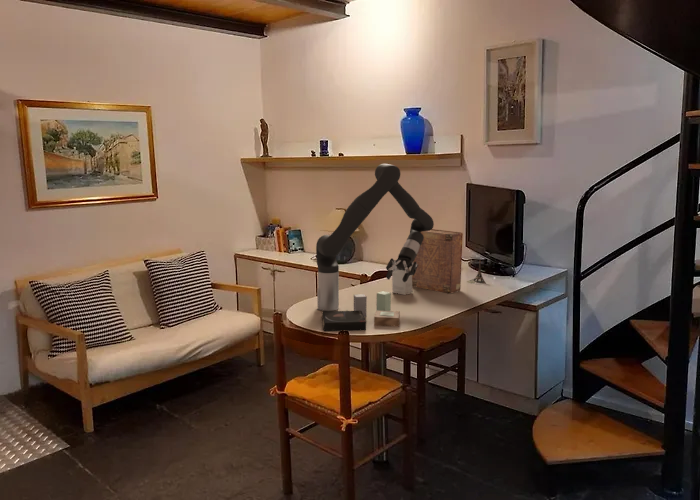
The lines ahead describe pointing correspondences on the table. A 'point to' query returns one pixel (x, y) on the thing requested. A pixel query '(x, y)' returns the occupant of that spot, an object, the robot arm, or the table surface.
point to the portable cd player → (343, 320)
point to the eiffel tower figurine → (478, 277)
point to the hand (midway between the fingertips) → (395, 279)
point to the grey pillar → (360, 303)
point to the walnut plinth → (387, 318)
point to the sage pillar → (383, 301)
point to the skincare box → (401, 282)
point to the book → (439, 261)
